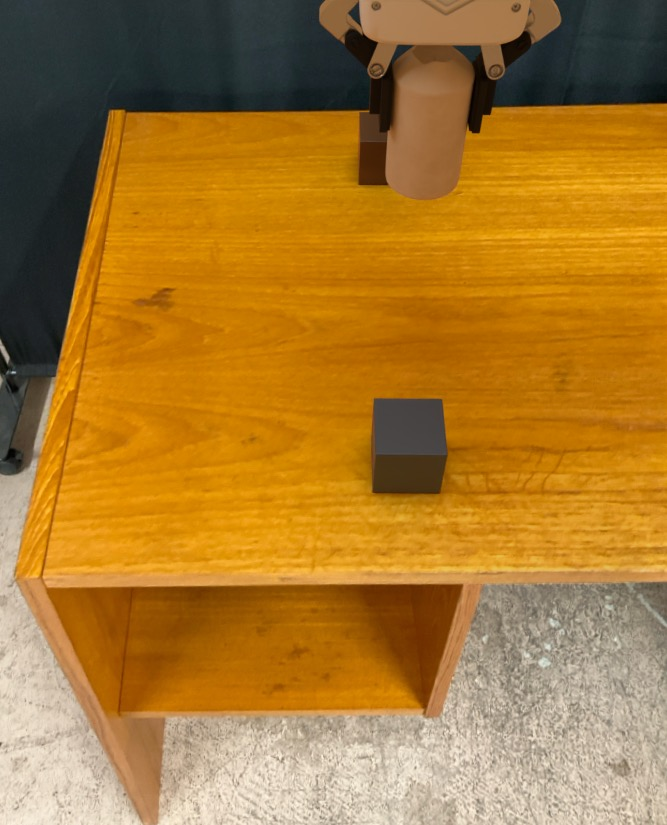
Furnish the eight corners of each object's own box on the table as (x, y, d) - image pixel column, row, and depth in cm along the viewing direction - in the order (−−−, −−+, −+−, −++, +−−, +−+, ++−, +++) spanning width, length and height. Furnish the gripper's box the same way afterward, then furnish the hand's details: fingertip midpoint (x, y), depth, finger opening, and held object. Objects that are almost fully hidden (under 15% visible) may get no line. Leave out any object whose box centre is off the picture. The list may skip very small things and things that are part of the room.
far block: (405, 155, 86) (409, 112, 82) (408, 185, 83) (412, 141, 79) (358, 154, 86) (359, 111, 82) (358, 184, 83) (359, 141, 79)
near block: (435, 438, 63) (442, 398, 59) (440, 493, 60) (447, 455, 56) (370, 437, 63) (373, 397, 59) (372, 493, 60) (375, 454, 56)
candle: (467, 197, 60) (488, 68, 52) (393, 205, 59) (403, 75, 51) (448, 152, 63) (465, 24, 55) (378, 159, 62) (385, 31, 54)
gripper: (295, -161, 41) (303, 153, 55) (641, -158, 41) (559, 155, 55) (299, -211, 45) (306, 91, 60) (611, -208, 45) (542, 93, 60)
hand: (428, 119), depth 57 cm, fingers closed on candle, 5 cm apart
